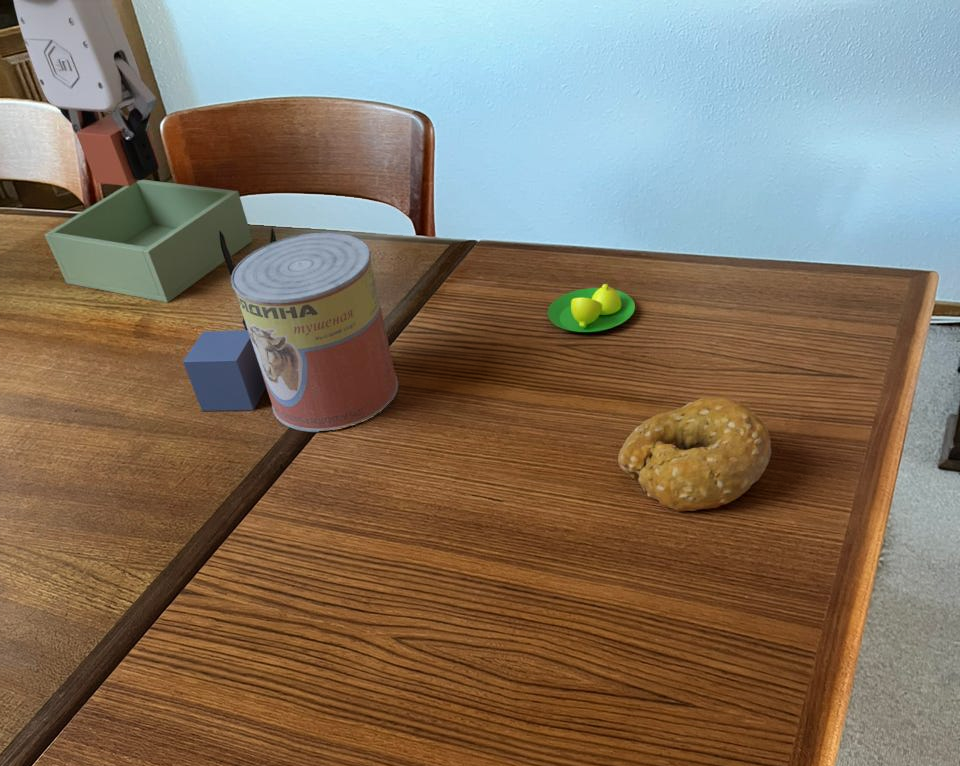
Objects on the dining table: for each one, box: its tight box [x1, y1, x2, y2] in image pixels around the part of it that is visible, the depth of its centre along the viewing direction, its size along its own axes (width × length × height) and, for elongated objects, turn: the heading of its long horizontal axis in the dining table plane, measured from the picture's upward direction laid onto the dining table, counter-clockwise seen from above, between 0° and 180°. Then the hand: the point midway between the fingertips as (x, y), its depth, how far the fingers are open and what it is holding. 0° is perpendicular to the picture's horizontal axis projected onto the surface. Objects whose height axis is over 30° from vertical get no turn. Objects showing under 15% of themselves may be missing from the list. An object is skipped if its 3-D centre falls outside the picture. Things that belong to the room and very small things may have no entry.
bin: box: [44, 179, 254, 303], centre depth 107 cm, size 16×15×6 cm
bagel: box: [617, 396, 772, 512], centre depth 70 cm, size 10×11×5 cm
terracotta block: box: [75, 113, 162, 187], centre depth 101 cm, size 5×5×5 cm
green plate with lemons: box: [547, 283, 636, 333], centre depth 88 cm, size 8×8×3 cm
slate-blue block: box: [182, 329, 267, 412], centre depth 86 cm, size 5×5×5 cm
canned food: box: [230, 232, 399, 433], centre depth 81 cm, size 11×11×12 cm
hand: (127, 170), depth 102 cm, fingers closed on terracotta block, 5 cm apart
